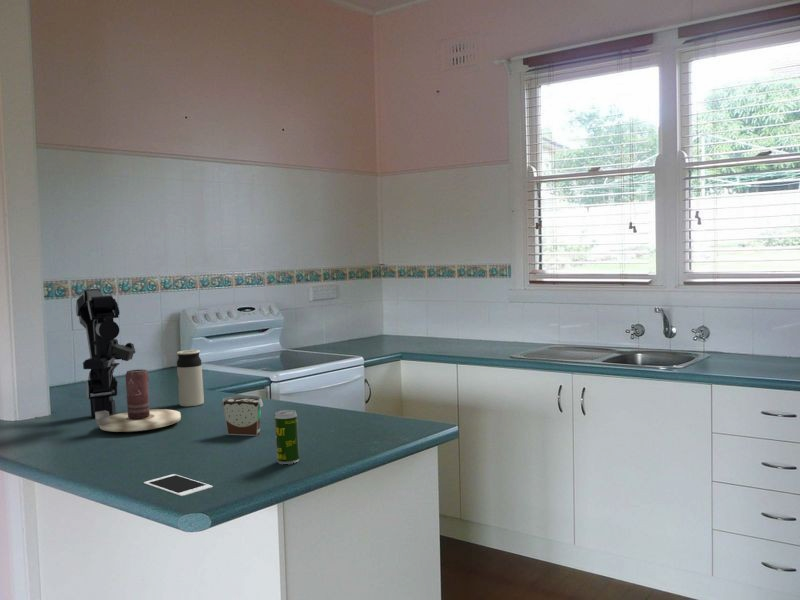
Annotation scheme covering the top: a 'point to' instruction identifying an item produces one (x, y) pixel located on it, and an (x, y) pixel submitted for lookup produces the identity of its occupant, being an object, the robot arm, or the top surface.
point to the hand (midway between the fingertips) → (107, 387)
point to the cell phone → (178, 485)
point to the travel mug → (190, 378)
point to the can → (137, 394)
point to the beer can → (286, 437)
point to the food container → (242, 415)
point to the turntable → (136, 420)
